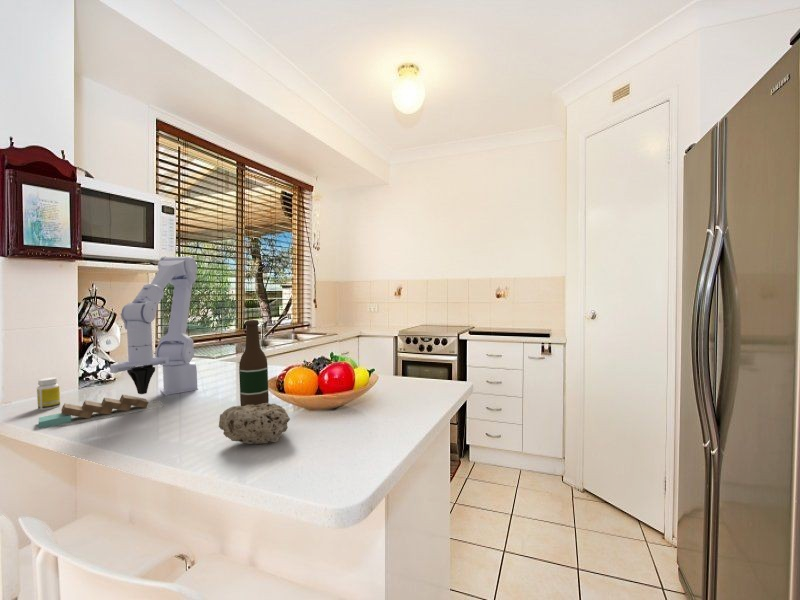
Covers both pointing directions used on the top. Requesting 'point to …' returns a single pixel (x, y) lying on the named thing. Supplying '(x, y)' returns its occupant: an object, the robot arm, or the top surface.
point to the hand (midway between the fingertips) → (142, 393)
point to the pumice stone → (254, 423)
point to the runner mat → (114, 413)
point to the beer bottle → (253, 369)
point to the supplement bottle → (48, 394)
